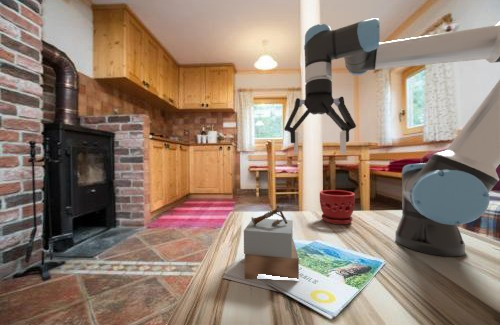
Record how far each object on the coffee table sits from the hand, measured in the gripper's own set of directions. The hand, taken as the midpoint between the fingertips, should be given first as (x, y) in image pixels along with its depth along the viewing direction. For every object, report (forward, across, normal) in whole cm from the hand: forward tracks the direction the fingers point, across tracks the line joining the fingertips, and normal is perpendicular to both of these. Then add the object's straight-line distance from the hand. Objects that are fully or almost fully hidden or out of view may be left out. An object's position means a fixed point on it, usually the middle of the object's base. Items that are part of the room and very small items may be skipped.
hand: (319, 154), depth 62 cm
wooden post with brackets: (+17, +16, +15) cm, 27 cm away
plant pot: (+27, -12, -24) cm, 38 cm away
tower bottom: (+27, +15, +15) cm, 34 cm away
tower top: (+22, +15, +15) cm, 30 cm away
